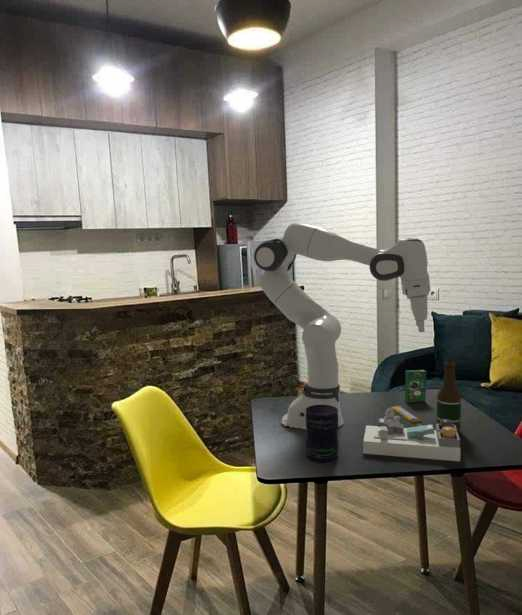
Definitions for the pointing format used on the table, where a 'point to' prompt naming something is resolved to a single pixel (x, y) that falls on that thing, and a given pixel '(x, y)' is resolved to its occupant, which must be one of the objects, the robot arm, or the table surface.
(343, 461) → the table surface
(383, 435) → the slide knob
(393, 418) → the grey rounded piece
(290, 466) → the table surface
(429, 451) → the console
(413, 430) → the rocker teal
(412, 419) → the candy bar
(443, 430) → the button orange
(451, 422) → the button black
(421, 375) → the coffee box
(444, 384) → the beer bottle
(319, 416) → the storage jar
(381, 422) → the rocker charcoal
